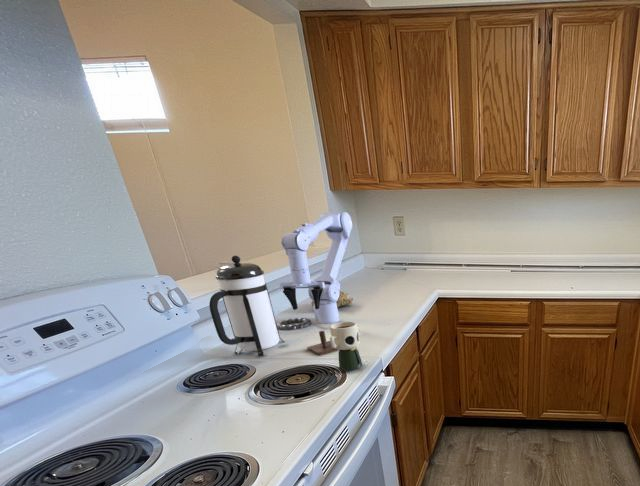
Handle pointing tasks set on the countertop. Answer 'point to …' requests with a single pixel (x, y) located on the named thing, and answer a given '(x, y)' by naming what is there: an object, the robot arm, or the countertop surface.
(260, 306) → the coffee press
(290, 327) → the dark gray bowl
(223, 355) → the countertop surface
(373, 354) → the countertop surface
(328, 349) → the peg
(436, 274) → the countertop surface
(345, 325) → the character mug
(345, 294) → the sponge
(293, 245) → the robot arm
